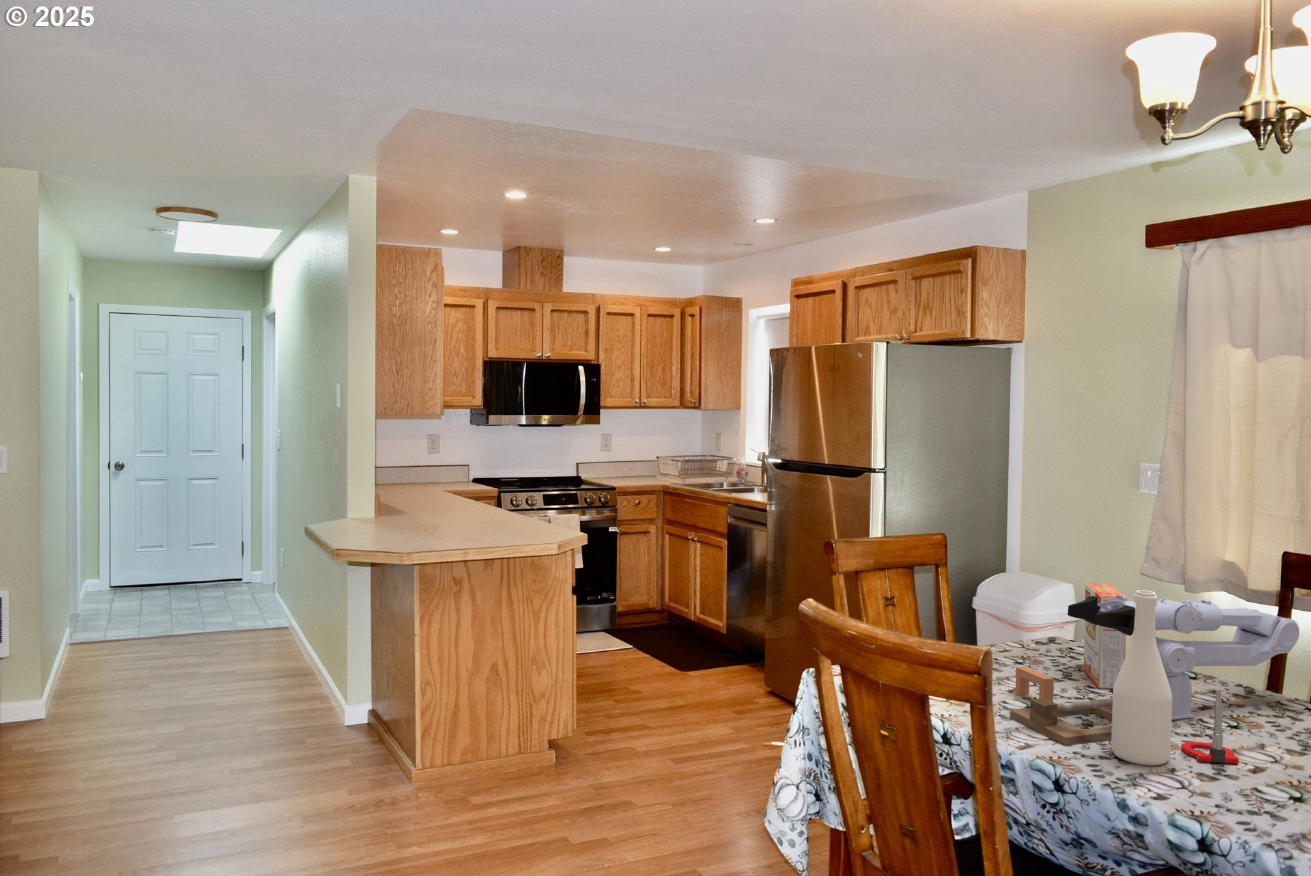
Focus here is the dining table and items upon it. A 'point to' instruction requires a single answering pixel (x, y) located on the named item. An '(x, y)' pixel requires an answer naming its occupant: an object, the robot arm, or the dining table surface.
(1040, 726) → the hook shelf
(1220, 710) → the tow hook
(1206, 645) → the robot arm
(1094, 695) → the dining table surface
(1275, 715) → the dining table surface
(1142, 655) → the wine bottle
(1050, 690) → the wooden arch block
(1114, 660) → the cracker box
